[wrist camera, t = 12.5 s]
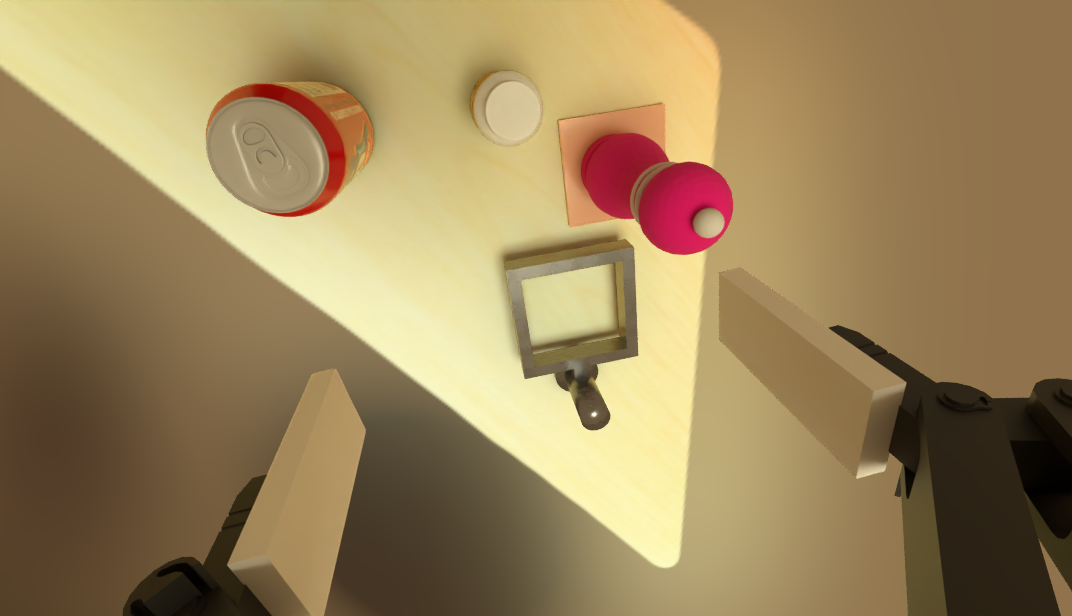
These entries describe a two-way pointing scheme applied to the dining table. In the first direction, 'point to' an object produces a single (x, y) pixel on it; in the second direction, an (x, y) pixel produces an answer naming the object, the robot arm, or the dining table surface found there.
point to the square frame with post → (580, 361)
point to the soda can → (288, 144)
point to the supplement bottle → (506, 107)
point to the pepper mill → (657, 192)
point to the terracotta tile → (583, 134)
